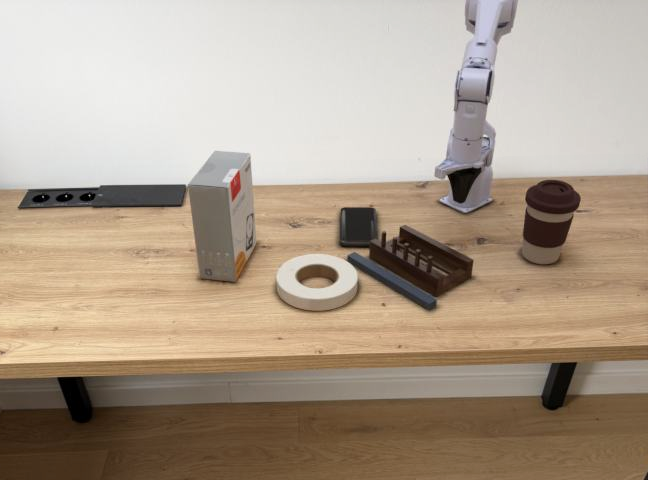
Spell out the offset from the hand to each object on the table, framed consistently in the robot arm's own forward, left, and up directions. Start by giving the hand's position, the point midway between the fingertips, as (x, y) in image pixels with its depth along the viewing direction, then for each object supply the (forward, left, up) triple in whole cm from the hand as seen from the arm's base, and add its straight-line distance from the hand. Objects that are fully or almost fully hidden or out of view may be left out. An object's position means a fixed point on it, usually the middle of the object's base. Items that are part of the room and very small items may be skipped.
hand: (459, 201), depth 136 cm
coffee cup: (-9, +15, -10) cm, 20 cm away
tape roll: (+32, -6, -10) cm, 34 cm away
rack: (+12, +2, -10) cm, 16 cm away
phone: (+11, -17, -10) cm, 23 cm away
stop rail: (+20, +2, -10) cm, 23 cm away
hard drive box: (+39, -25, -10) cm, 47 cm away
